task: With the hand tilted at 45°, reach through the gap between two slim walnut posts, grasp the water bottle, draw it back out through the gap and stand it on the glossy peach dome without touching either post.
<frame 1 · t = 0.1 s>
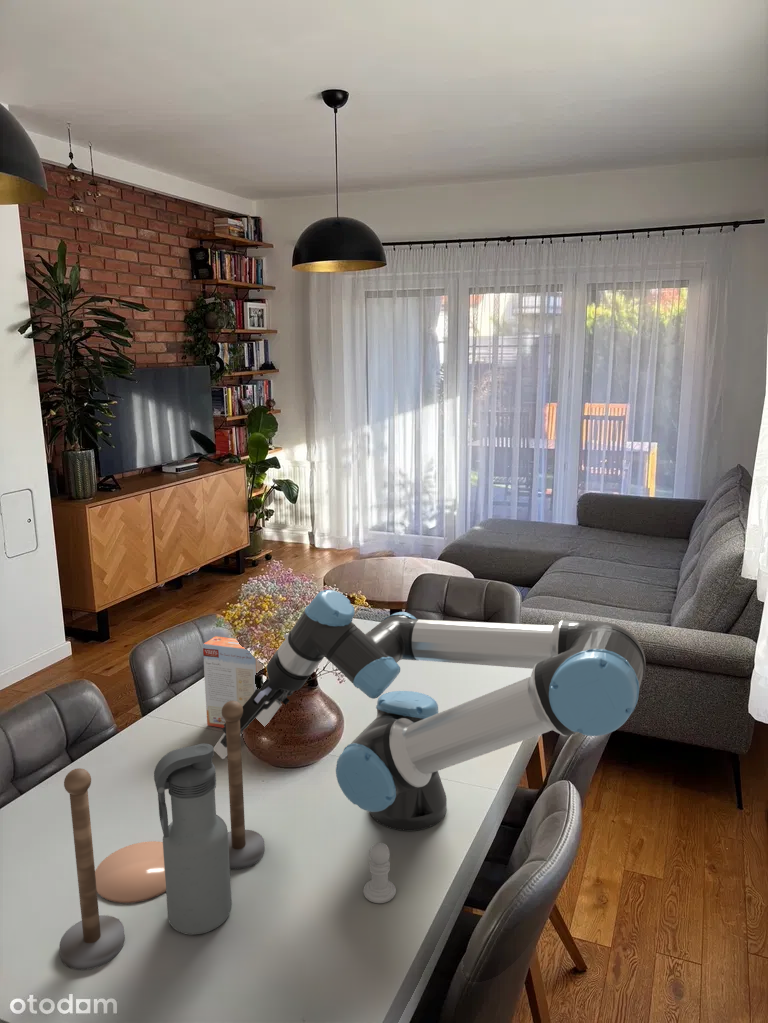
hand: (240, 736, 144), 15 cm above the table, tool tilted 35°, fingers open, 13 cm apart
glossy peach dome: (140, 872, 129), on the table
cracker box: (238, 725, 181), on the table
water bottle: (199, 915, 119), on the table
chess piece: (379, 894, 124), on the table
walnut post B: (239, 852, 134), on the table
walnut post A: (93, 945, 113), on the table
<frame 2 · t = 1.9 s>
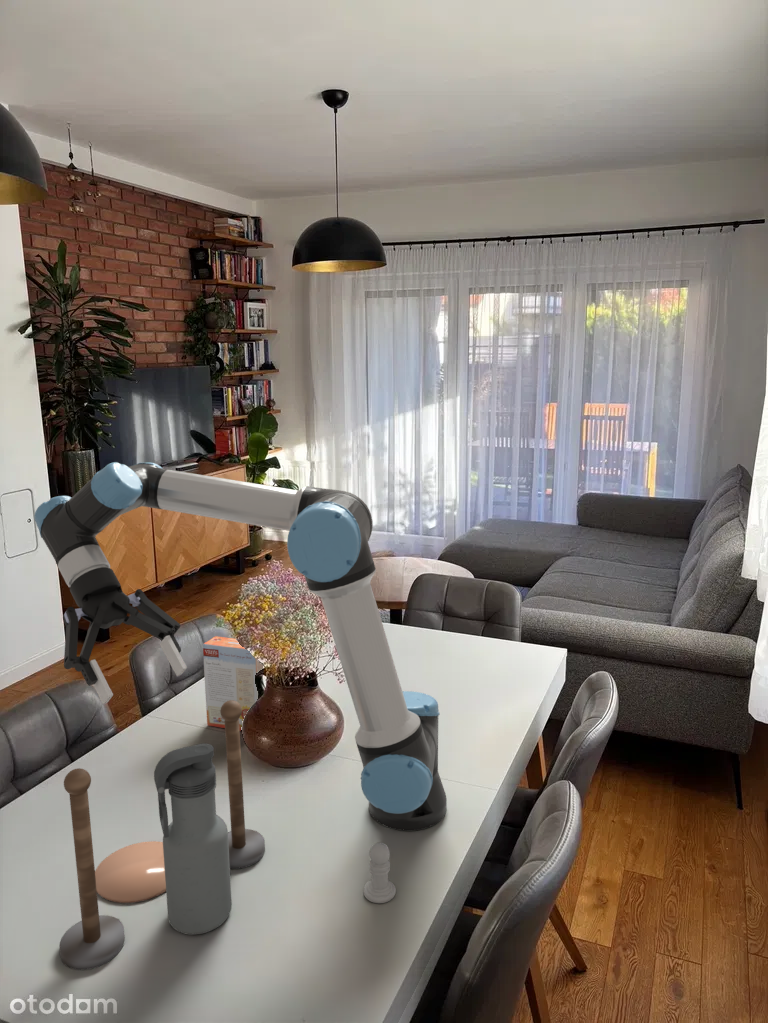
hand: (146, 685, 122), 34 cm above the table, tool tilted 45°, fingers open, 13 cm apart
nothing on the table moved.
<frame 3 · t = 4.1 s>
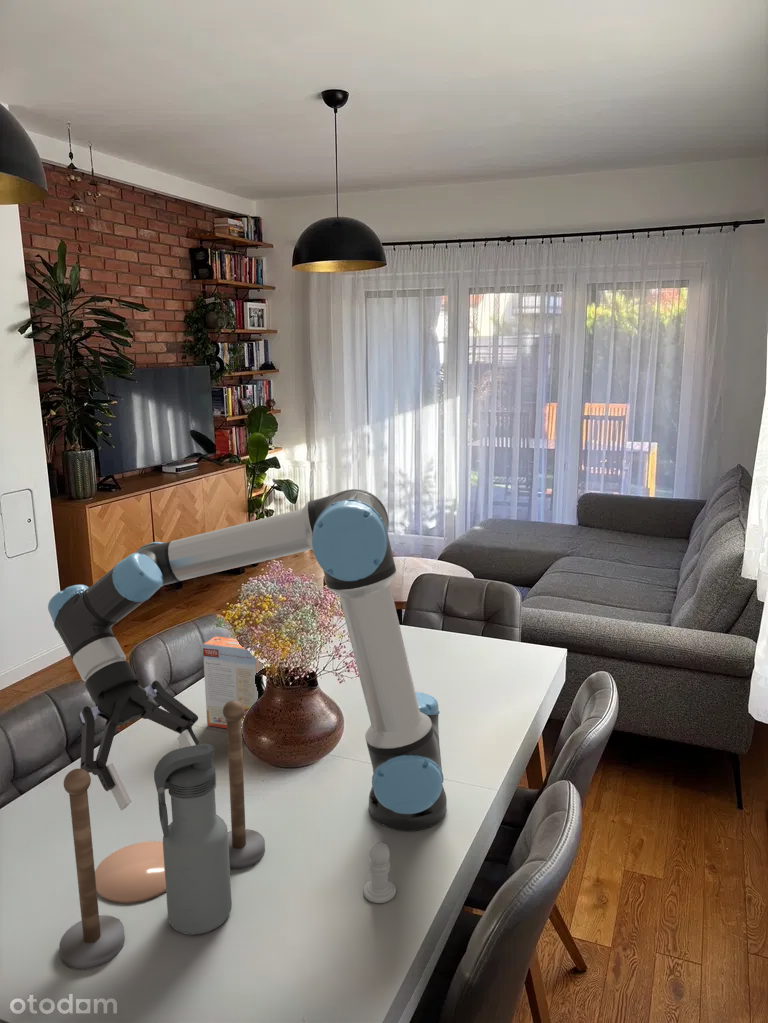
hand: (165, 786, 118), 20 cm above the table, tool tilted 45°, fingers open, 13 cm apart
nothing on the table moved.
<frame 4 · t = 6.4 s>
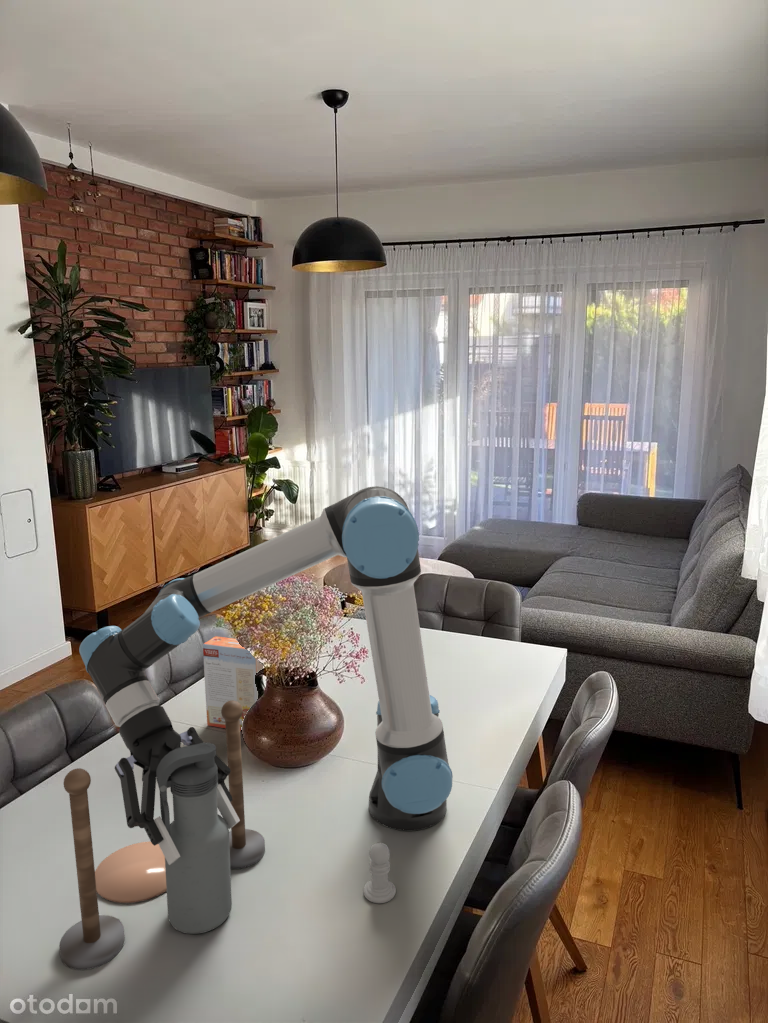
hand: (205, 842, 114), 14 cm above the table, tool tilted 45°, fingers closed on water bottle, 10 cm apart
water bottle: (198, 915, 119), on the table, touching gripper
everything else where it was.
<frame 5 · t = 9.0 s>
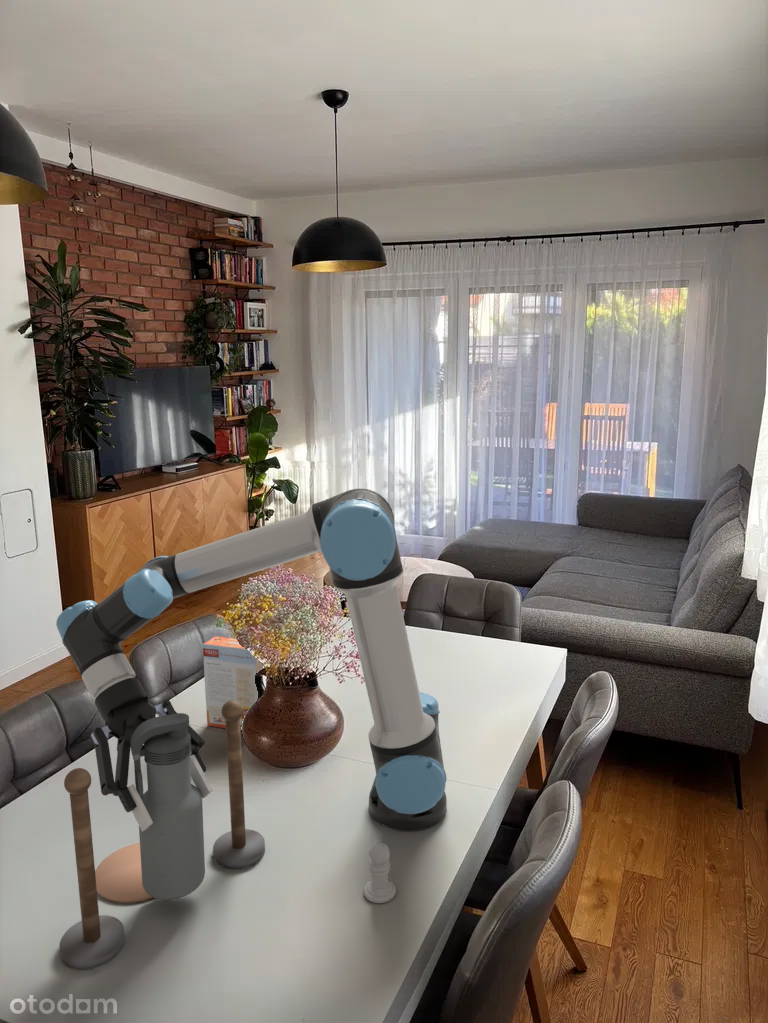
hand: (178, 810, 117), 17 cm above the table, tool tilted 45°, fingers closed on water bottle, 10 cm apart
water bottle: (172, 882, 122), point 3 cm above the table, touching gripper
everything else where it was.
when the fingers open (16 cm above the table, at t = 11.7 s): water bottle drops 1 cm, resting on glossy peach dome.
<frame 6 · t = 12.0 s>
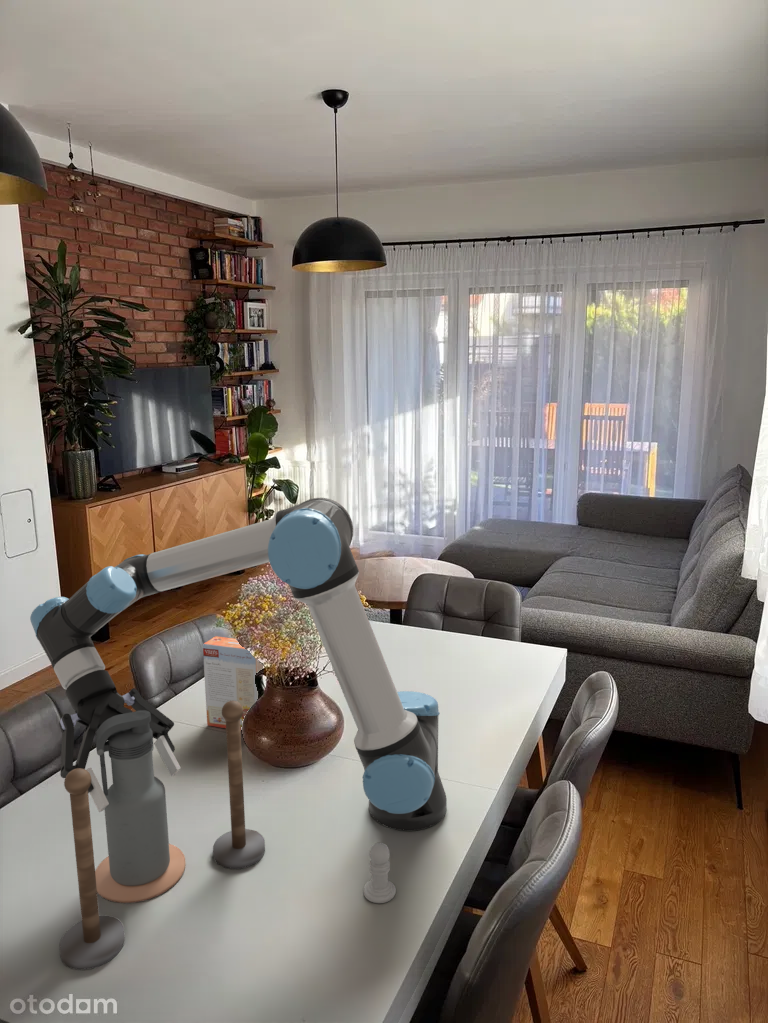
hand: (141, 789, 124), 16 cm above the table, tool tilted 45°, fingers open, 13 cm apart
water bottle: (139, 870, 129), resting on glossy peach dome
everything else where it was.
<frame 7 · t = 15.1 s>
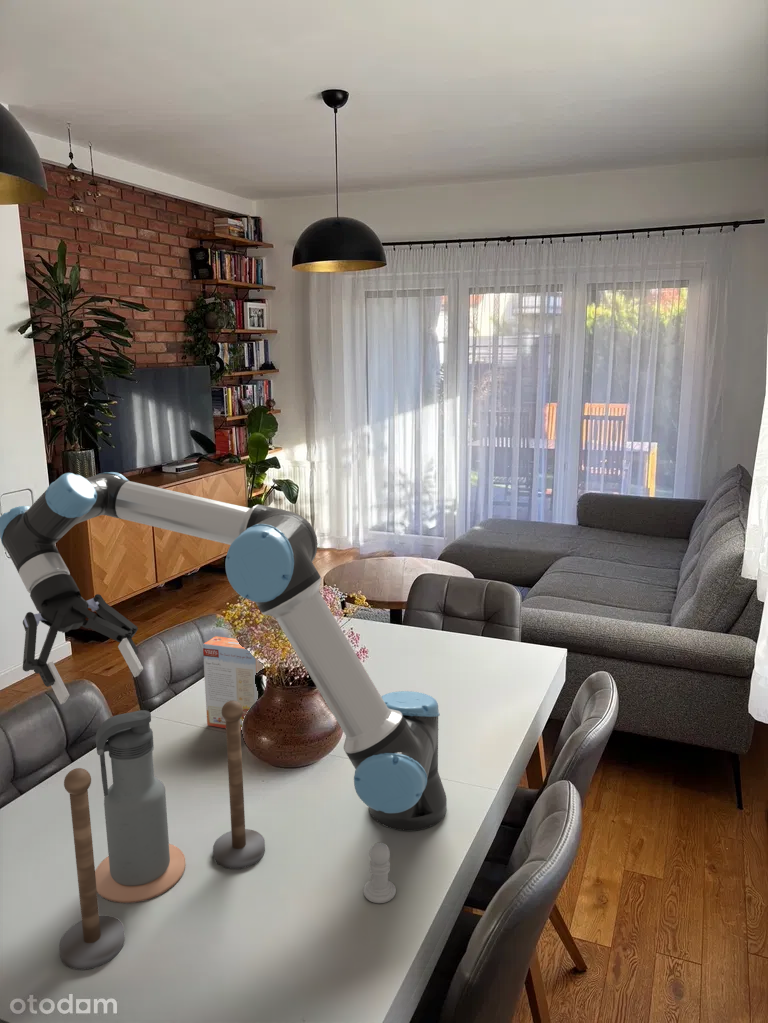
hand: (103, 686, 127), 32 cm above the table, tool tilted 45°, fingers open, 13 cm apart
nothing on the table moved.
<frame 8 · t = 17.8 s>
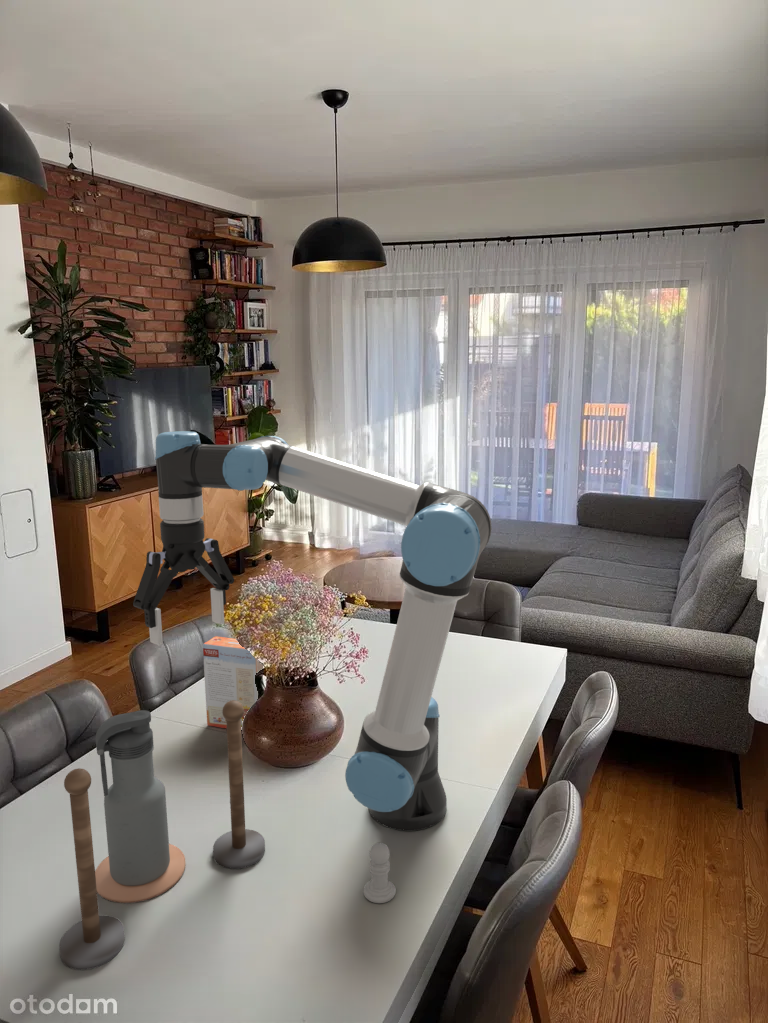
hand: (188, 632, 138), 37 cm above the table, tool pointing down, fingers open, 13 cm apart
nothing on the table moved.
at the end: water bottle inside the target area on the glossy peach dome (0.1 cm from its centre), point 0.4 cm above the glossy peach dome's base; walnut post A moved 0.0 cm from its start; walnut post B moved 0.1 cm from its start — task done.
